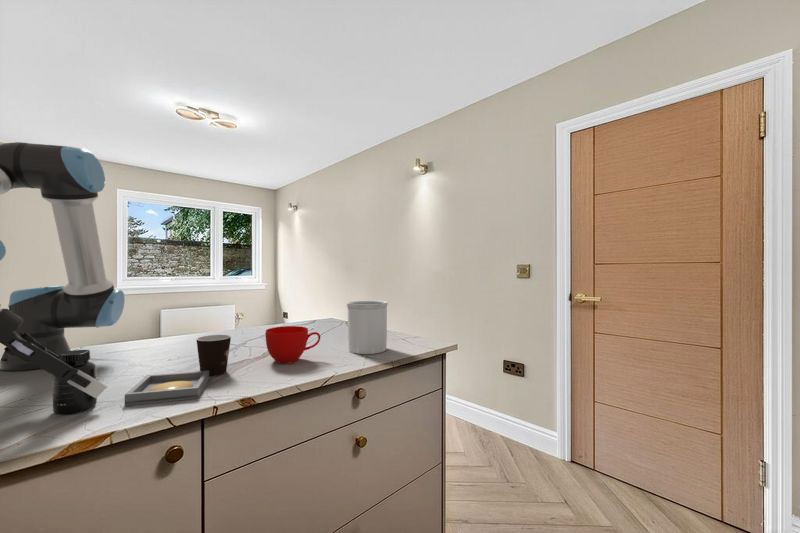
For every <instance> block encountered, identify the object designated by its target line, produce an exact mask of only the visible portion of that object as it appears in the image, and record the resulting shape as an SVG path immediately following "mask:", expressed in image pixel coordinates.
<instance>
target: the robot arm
mask: <svg viewBox="0 0 800 533" xmlns="http://www.w3.org/2000/svg"><path fill="white" fill-rule="evenodd" d="M105 182H106V177H105V172H104V169H103V166H102V164H101V162H100V160H99V159H98V158H97V157H96V156H95V154H94V153H93V152H92V151H90V150H88V149H87V148H82V147H76V146H70V145H55V144H44V143H42V144H41V143H28V142H19V141H18V142H17V141H16V142H6V143H0V195H1V196H2V195H4V194H6V193H9V191H10V190H12V189H21V188H22V189H25V188H26V189H27V188H29V189H40V193H41V198H42V199H43V200H46V201H47V202H49V203H50V204H51V208H52V214H53V217H54V222H55V226H56V230H57V236H58V241H59V244H60V249H61V253H62V258H63V262H64V268H65V272H66V277H67V281H68V283H67V284H66V285H65V286H64V285H63V284H62V285H51V286H43V287H33V288H23V289H16V290H13V291H12V292H11V293H10V294H9V302H8V305H7V307H8V308H0V344H1V345H3V346H4V348H3V350H4V351H3V354H2V356H1V357H0V370H1V371H7V372H9V371H10V372H17V371H29V370H37V369H42V370H43V371H45V372H47V373H48V374H51V375H54V376H56V377H57V378H59V379H61V381H62V382H61V383H60V384H62V385H64V384H65V383H66V382H67V383H69V384H71V385H73V386H74V387H76V388H78V389H80V390H82V391H83V392H85V393H87V394H89V395H91V396H93V397H94V398H98V397H99V396H101V394H102V393H103V392H104V391H105V390H106V389H108V386H107V385H106V384H104V383H103V382H101V381H99V380H100V379H99V378H97V377H96V379H94V378H92V377H90V376H89V375H87V374H85V373H84V372H82V371H80V370H78V369H76V368H73V367H71V366H70V365H68V364H66V363H65V362H63V361H61V360H60V359H59V354H61V353H64V352H68V351H72V350H71V347H70V345H69V343H68V341H67V339H66V337H65V329H73V328H74V329H76V328H77V329H78V328H79V329H80V328H102V327H103V328H104V327H111V326H113V325H115V324H116V323H118V321H119V320H120V318H121V317H122V314H123V311H124V307H125V293H124V291H123V290H121V289H119V288H115V285H114V282H113V281H112V280H111V279H109V278H107V276H106V270H105V265H104V259H103V253H102V248H101V243H100V242H101V241H100V237H99V233H98V225H97V221H96V215H95V214H96V213H95V209H94V203H93V202H95V201H96V200H97V199H98V198H99V194H98V193H100V192H102V191H103V190H104V188H105V185H106V184H105ZM6 252H7V250H6V246H5V245H4V243H3V241H2V240H1V239H0V261H2V260H3V259H4V258H5V256H6V254H7V253H6ZM1 306H2V305H1V303H0V307H1ZM63 374H64V375H63Z"/></svg>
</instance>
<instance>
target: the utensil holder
mask: <svg viewBox="0 0 800 533" xmlns="http://www.w3.org/2000/svg"><path fill="white" fill-rule="evenodd" d="M388 305H389V304H388V301H387V300H378V299H377V300H375V299H365V300H363V299H362V300H352V301H347V302H346V308H347V342H348V351H349V352H350V353H352V354H357V355H374V354H381V353H384V352H385V351H386V350H387V339H388V335H387V334H388V328H387V327H388V326H387V325H388V313H387V312H388V309H387V308H388Z"/></svg>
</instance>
